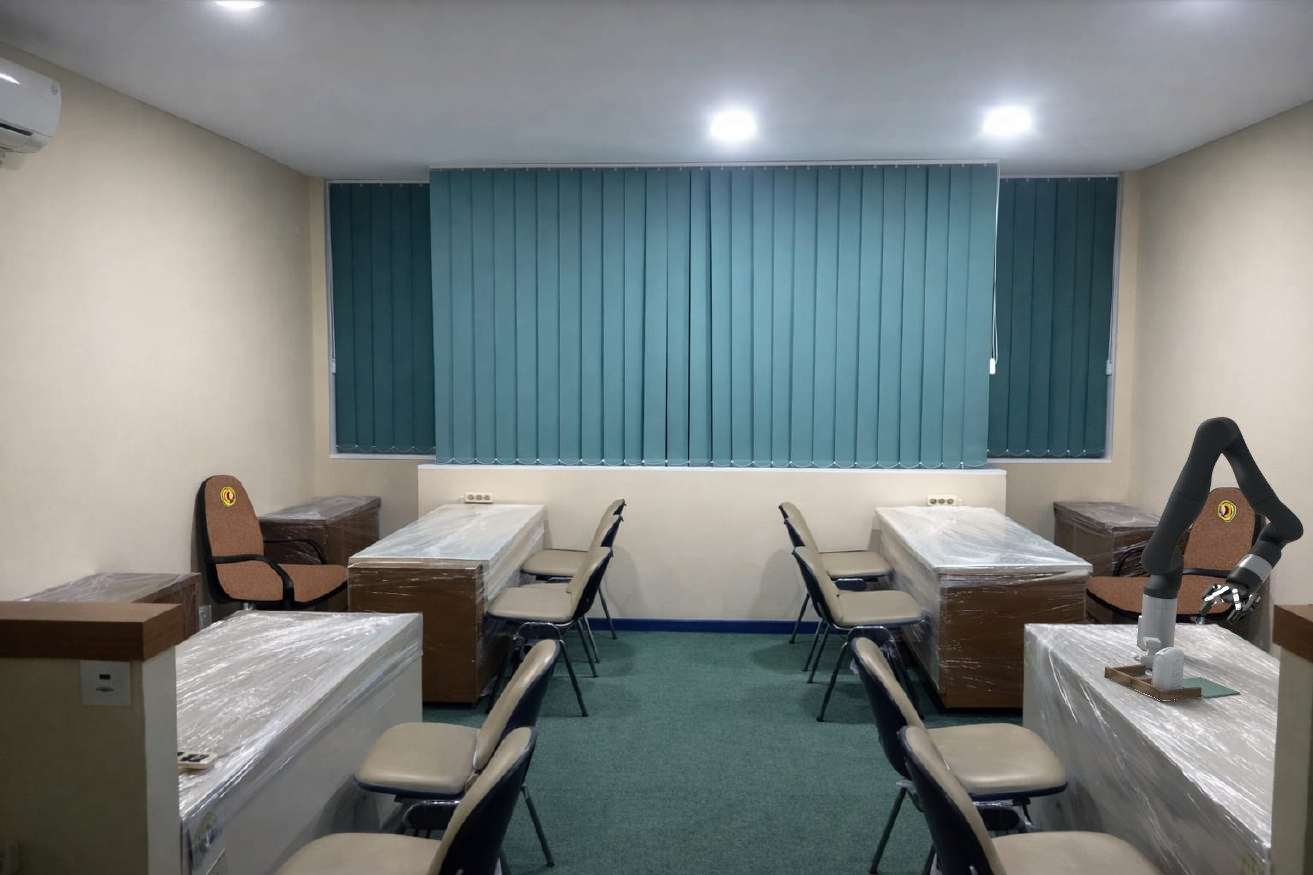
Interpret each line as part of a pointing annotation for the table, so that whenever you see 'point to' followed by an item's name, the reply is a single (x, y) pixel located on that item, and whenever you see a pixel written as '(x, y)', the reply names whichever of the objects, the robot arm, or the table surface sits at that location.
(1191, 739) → the table surface
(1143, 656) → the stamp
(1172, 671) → the photo printer
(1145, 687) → the lane rack
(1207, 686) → the mat
